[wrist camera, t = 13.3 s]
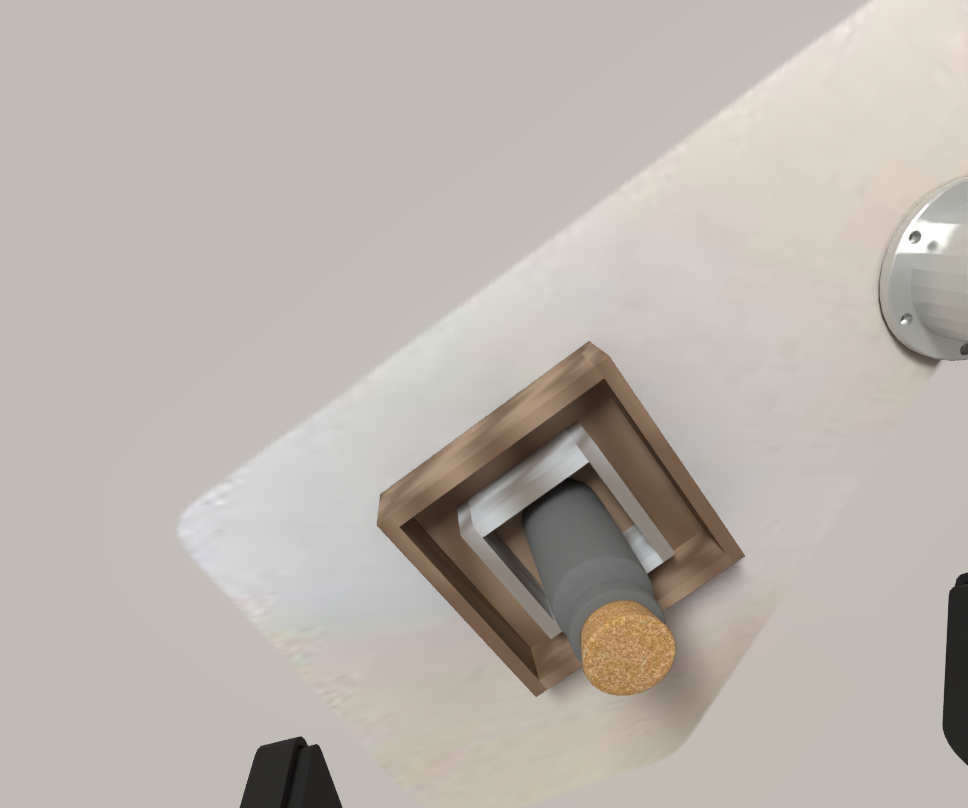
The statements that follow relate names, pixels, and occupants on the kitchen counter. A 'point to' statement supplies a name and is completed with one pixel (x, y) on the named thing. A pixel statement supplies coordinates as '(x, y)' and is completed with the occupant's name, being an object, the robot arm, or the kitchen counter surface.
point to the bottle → (598, 590)
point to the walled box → (527, 476)
